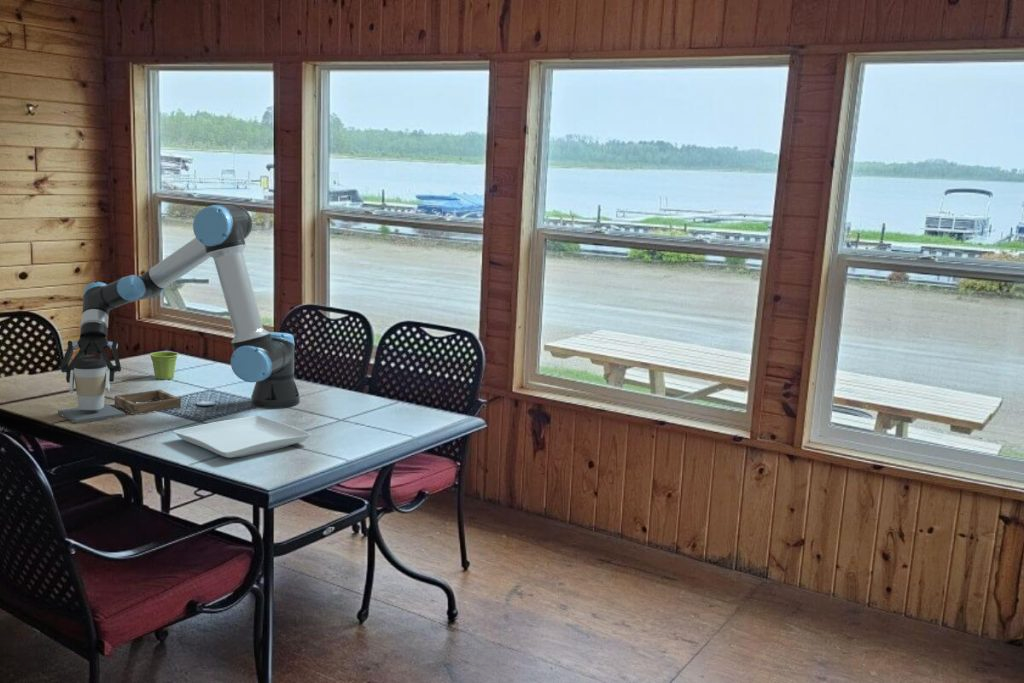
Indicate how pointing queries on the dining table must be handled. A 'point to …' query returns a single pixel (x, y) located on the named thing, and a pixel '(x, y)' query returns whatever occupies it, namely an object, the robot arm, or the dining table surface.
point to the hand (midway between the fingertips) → (89, 390)
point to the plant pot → (164, 364)
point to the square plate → (243, 436)
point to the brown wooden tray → (130, 402)
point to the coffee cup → (90, 382)
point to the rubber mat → (91, 414)
